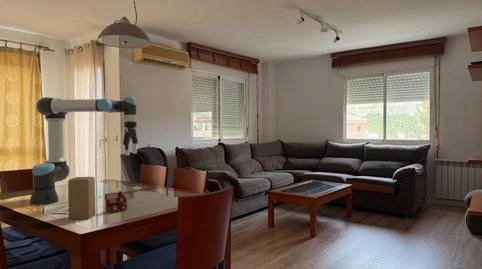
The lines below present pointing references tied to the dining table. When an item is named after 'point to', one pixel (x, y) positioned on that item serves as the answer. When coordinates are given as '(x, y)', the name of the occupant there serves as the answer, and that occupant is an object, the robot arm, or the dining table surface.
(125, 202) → the red patterned box
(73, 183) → the wooden block
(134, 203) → the dining table surface
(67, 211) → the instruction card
